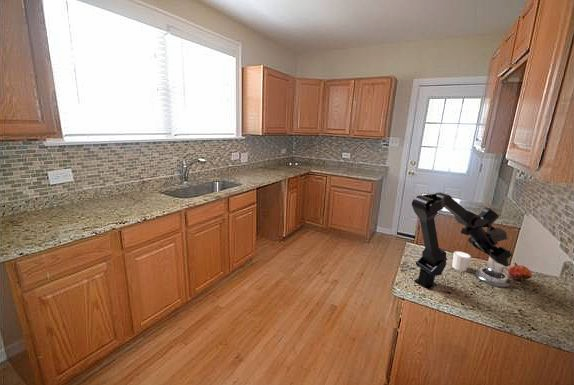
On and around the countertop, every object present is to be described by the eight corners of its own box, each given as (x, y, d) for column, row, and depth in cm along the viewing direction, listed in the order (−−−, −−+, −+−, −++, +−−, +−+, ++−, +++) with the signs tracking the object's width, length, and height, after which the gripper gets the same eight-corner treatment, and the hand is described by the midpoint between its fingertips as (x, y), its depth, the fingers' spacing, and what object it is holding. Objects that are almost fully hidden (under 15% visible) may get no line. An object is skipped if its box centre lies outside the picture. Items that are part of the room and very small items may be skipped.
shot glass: (451, 262, 127) (454, 249, 125) (468, 267, 123) (472, 254, 121) (449, 268, 122) (452, 254, 120) (467, 273, 118) (470, 259, 116)
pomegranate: (531, 289, 112) (524, 267, 117) (538, 283, 106) (531, 260, 112) (509, 286, 114) (504, 265, 120) (515, 280, 109) (509, 258, 115)
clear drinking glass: (496, 282, 110) (504, 254, 107) (481, 275, 115) (489, 248, 111) (502, 278, 113) (510, 251, 109) (487, 272, 117) (494, 246, 114)
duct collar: (502, 290, 106) (504, 284, 105) (469, 275, 116) (471, 269, 115) (514, 282, 112) (516, 276, 111) (482, 269, 122) (484, 263, 121)
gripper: (513, 232, 98) (535, 260, 101) (480, 215, 116) (500, 239, 119) (487, 249, 101) (509, 276, 103) (459, 230, 119) (478, 254, 121)
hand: (499, 260), depth 111 cm, fingers open, 9 cm apart
